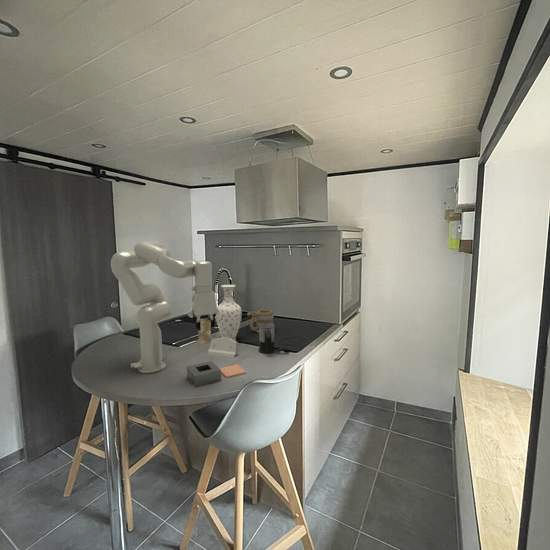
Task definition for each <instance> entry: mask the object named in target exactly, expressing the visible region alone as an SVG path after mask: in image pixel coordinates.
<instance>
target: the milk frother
mask: <svg viewBox="0 0 550 550" xmlns="http://www.w3.org/2000/svg"><path fill="white" fill-rule="evenodd" d="M275 327H276V326H275V324H274V325H273V324H261V325H259V333H258V334H259V335H258V339H259V346H258V352H259V353H261V354H272V353H274V352H277V351H278V352H279V351H283V352H286V351H287V350H289V349H290V347H287V346H282V347H281V348H277V349H275V331H274V329H275ZM285 350H286V351H285Z"/></svg>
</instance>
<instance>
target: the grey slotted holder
mask: <svg viewBox="0 0 550 550" xmlns="http://www.w3.org/2000/svg"><path fill="white" fill-rule="evenodd" d="M186 377H187V379H188V378H189V379H188V381H189V382H190V383H191V382H192V383H191V384H192V385H193V387H194V388H197V387H198V386H199V387H203V386H206V385H210V384H213V383H218V382H221V381H222V373H221V370H220V369H219V366H218V365H217V364H216V363H214V362H213V361H212V360H210V361H206V362H202V363H201V362H200V363H196V364H191V365H187V366H186Z"/></svg>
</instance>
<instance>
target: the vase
mask: <svg viewBox="0 0 550 550" xmlns="http://www.w3.org/2000/svg"><path fill="white" fill-rule="evenodd" d="M220 287H221V288H222V289H223V293H224V295H223V301H222V302H221V303H220V304H219V305H216V308H217V309H218V310H219V313H218V314H217V315H216V316H215V320H216V321H215V322H216V325H217V327H218V331H219V334H220V336H221V337H220V338H230V339H233V340H235V341H237V340H236V339H237V335H238V332H239V329H240V325H241V322H242V307H241V306H240V304H238V303H236V302H235V300H234V297H233V296H234V295H233V293H234V288H235V287H236V285H235V284H222V285H221V286H220Z"/></svg>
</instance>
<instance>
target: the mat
mask: <svg viewBox="0 0 550 550" xmlns="http://www.w3.org/2000/svg"><path fill="white" fill-rule="evenodd" d="M218 368H219V367H218ZM219 369H220V370H221V375H223V376H224V378H226V379H229V378H234V377H237V376H241V375H246V374H247V372H246V370H245V369H243V368H242V367H241V366H240V365H239V364H233V365H229V366H225V367H220V368H219Z"/></svg>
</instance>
